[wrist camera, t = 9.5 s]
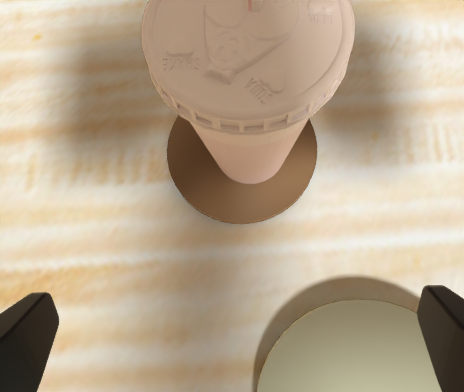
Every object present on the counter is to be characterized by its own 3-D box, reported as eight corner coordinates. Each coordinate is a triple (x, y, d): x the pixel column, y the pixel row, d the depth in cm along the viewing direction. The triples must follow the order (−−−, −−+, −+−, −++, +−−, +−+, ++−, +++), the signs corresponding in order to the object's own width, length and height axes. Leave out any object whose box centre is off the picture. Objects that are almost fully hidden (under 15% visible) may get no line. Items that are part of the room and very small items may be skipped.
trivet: (346, 162, 21) (349, 158, 20) (228, 255, 20) (227, 253, 19) (253, 63, 23) (253, 57, 22) (141, 142, 22) (138, 138, 21)
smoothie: (328, 121, 21) (463, -222, 7) (284, 229, 19) (351, 47, 6) (220, 82, 22) (163, -280, 8) (170, 181, 20) (4, -64, 7)
